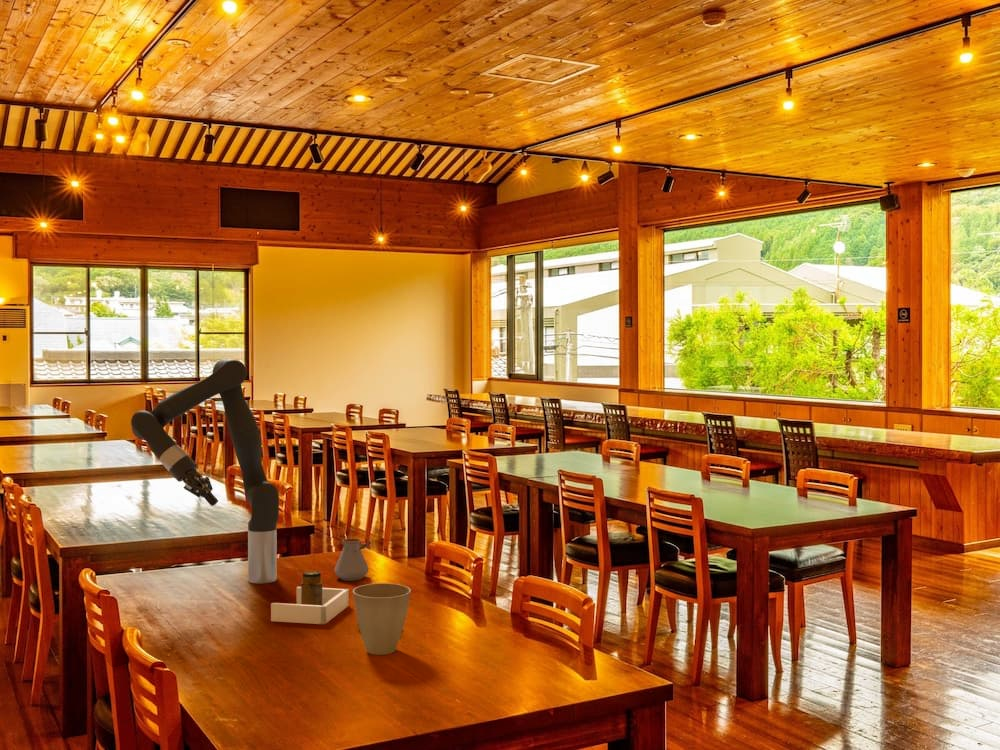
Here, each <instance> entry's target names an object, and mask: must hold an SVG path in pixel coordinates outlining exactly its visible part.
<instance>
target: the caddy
mask: <svg viewBox="0 0 1000 750" xmlns="http://www.w3.org/2000/svg"><path fill="white" fill-rule="evenodd" d="M349 592H350V589H349V588H333V587H331V588H330V587H322V606H321V605H304V604H301V586H297V587H296V603H283V602H282V603H281V602H271V603H270V621H271V622H277V623H279V622H281V623H298V624H309V625H310V624H314V625H315V624H316V625H326V624H327V623H329V622H330V621H331V620H332V619H334V618H335V617H336V616H338V615H339V614H341V612H343V611H344V610H345V609H346V608H348V607H349V606H350V605H349V600H350V599H349V597H350V596H349V595H350V593H349Z"/></svg>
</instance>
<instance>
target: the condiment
mask: <svg viewBox="0 0 1000 750" xmlns="http://www.w3.org/2000/svg"><path fill="white" fill-rule="evenodd" d="M321 576H322V573H321V572H320V571H318V570H309V571H308V570H307V571H304V572H303V573H302V581H301V583H300V585H301V586H300V587H301V604H304V605H321V606H323V605H322V588H323V582H322V577H321Z"/></svg>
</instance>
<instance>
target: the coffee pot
mask: <svg viewBox="0 0 1000 750" xmlns="http://www.w3.org/2000/svg"><path fill="white" fill-rule="evenodd" d="M361 542H362V539H360V538H344V539H342V540H341V543H342V545H343V548H342V551H341V552H340V554H339V555H340V556H339V558H338V560H337V562H336V565H335V567H334V573H335V576H337V577H338V578H339V580H343V581H347V582H348V581H349V582H351V581H359V580H362V579H364V577H365V576H366V575H367V574H368V572H369V566H368V564H367V562H366V559H365V557H364V555H363V552H362V549H365V548H368V549H372V548H373V546H371V547H369V546H370V545H371V544H372V545H374V544H373V542H371V541H368V542H365V543H363V544H362V545H360V544H361Z"/></svg>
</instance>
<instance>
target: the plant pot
mask: <svg viewBox="0 0 1000 750" xmlns="http://www.w3.org/2000/svg"><path fill="white" fill-rule="evenodd" d="M352 595H353V603H354V609H355V610H354V611H355V616H356V619H357V623H358V625H359V627H358V628H359V629H358V630H359V633H360V636H361V638H362V641H363V646H364V647H365V650H366V652H367V653H369V654H370V655H373V656H374V655H375V656H386V655H390V654H394V653H395V652H396V649H397V647H398V645H399V642H400V639H401V636H402V633H403V630H404V627H405V621H406V618H407V613H408V609H409V603H410V598H411V588H410V587H408V586H406V585H403V584H399V583H398V584H397V583H387V582H383V583H380V582H378V583H368V584H363V585H359V586H357V587H355V588H353V589H352ZM358 625H357V626H358Z"/></svg>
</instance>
